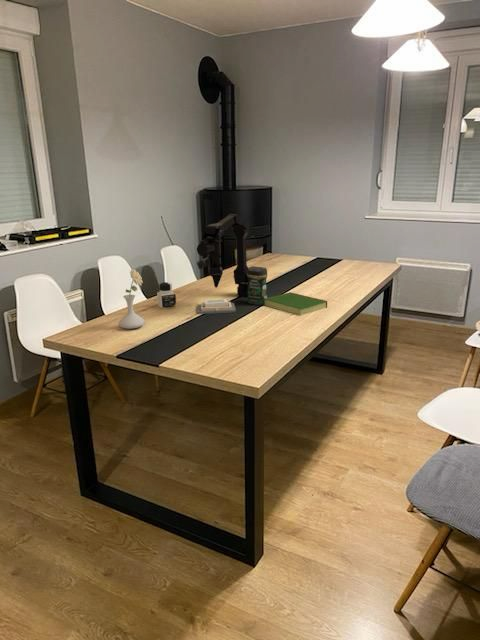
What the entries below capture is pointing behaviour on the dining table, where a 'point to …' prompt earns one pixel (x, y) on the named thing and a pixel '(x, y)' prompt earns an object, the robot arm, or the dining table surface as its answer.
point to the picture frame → (216, 303)
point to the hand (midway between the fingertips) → (215, 285)
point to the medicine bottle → (166, 296)
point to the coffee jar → (257, 285)
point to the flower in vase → (131, 318)
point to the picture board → (215, 309)
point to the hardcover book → (295, 303)
